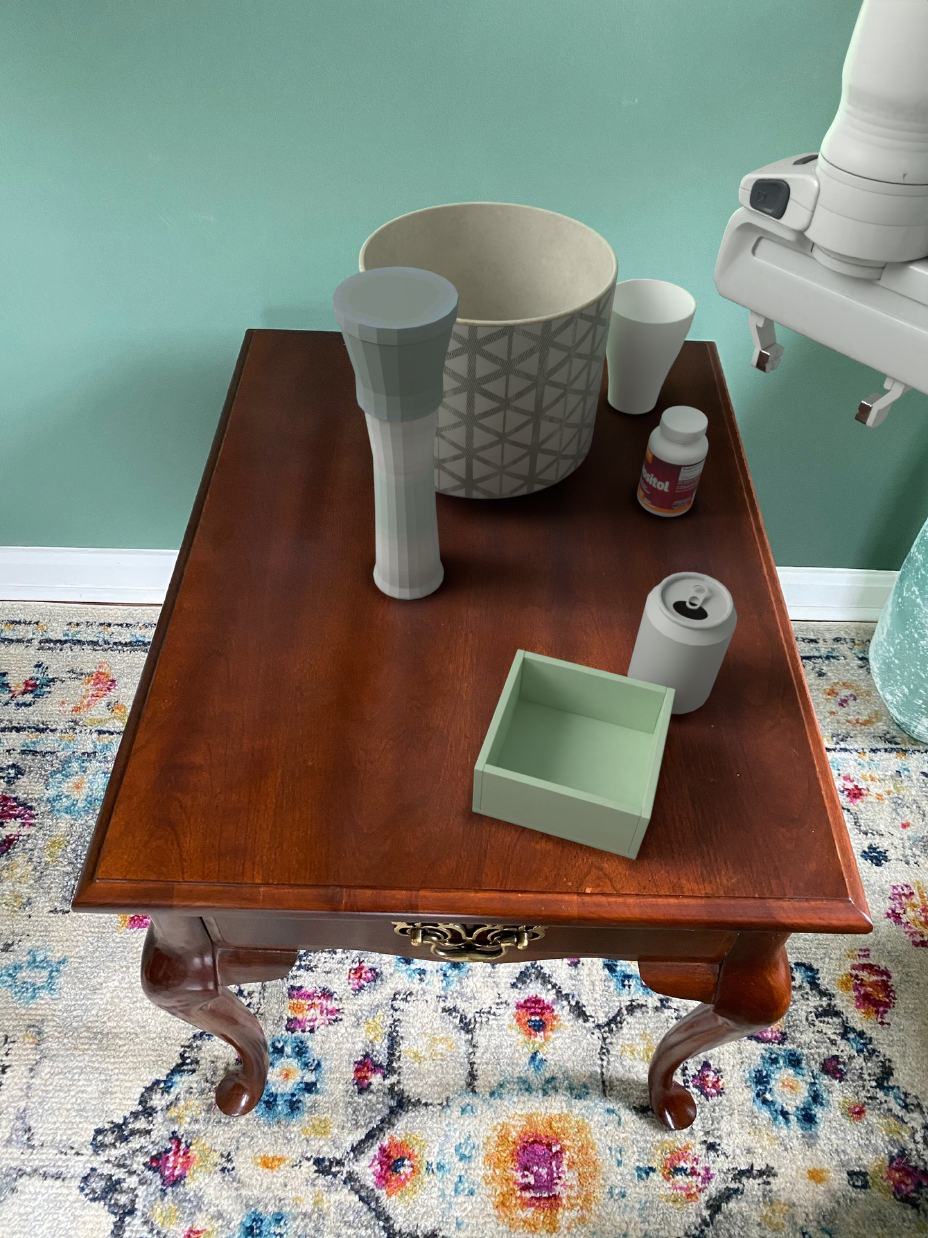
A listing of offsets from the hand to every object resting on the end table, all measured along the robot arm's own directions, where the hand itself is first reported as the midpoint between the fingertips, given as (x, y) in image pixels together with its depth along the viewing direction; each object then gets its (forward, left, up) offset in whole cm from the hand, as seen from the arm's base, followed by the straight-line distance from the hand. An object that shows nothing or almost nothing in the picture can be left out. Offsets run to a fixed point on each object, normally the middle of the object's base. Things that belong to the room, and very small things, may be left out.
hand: (814, 393), depth 65 cm
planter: (+31, -17, -26) cm, 43 cm away
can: (+5, +10, -26) cm, 28 cm away
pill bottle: (+9, -16, -26) cm, 31 cm away
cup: (+16, -34, -26) cm, 45 cm away
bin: (+11, +22, -26) cm, 36 cm away
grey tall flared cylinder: (+32, +4, -26) cm, 41 cm away
